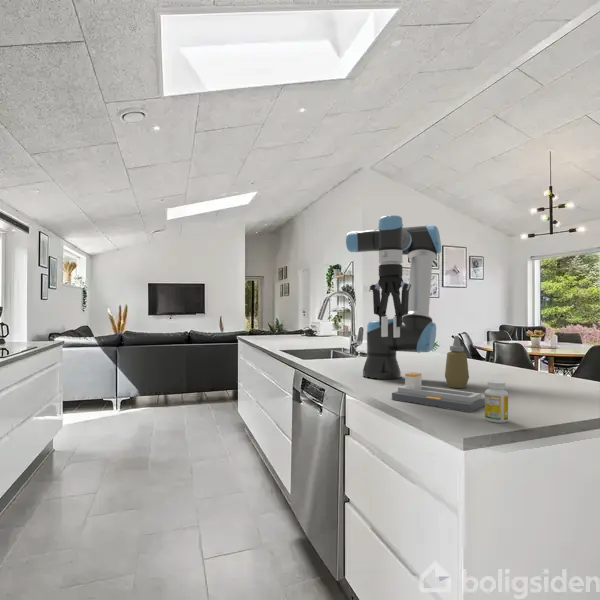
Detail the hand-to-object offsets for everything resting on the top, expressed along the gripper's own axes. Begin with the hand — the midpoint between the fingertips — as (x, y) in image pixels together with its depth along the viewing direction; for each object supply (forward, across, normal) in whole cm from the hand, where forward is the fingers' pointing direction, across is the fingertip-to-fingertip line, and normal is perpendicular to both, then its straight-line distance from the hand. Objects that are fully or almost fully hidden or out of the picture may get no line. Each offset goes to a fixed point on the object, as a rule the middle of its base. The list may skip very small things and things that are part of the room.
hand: (390, 336), depth 142 cm
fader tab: (+16, +8, 0) cm, 18 cm away
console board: (+19, +16, 0) cm, 25 cm away
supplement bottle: (+19, +36, -10) cm, 42 cm away
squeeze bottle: (+19, +10, +28) cm, 35 cm away
